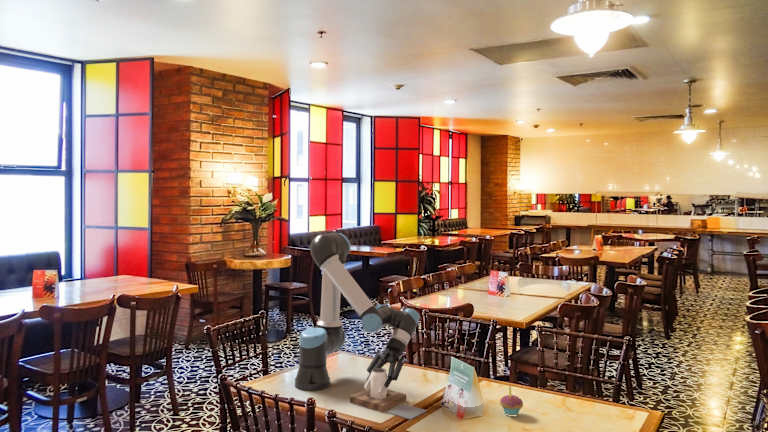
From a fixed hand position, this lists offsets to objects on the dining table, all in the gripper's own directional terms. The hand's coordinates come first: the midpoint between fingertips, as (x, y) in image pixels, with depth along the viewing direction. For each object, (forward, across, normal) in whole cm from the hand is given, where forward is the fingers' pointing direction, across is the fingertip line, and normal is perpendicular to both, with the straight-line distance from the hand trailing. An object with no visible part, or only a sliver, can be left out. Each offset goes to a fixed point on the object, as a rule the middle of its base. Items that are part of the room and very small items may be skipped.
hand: (373, 391), depth 225 cm
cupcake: (-14, -47, -21) cm, 53 cm away
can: (+1, 0, -6) cm, 6 cm away
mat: (+2, -15, -4) cm, 16 cm away
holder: (+1, 0, -6) cm, 6 cm away
